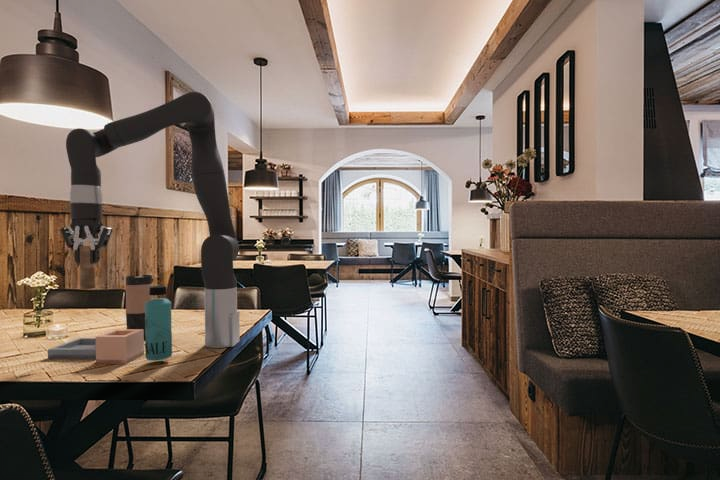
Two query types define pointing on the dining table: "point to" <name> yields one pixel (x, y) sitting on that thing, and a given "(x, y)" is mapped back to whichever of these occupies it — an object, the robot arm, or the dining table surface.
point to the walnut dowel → (86, 269)
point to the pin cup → (119, 346)
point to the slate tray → (74, 349)
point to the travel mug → (137, 300)
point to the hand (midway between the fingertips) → (87, 263)
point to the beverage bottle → (158, 326)
